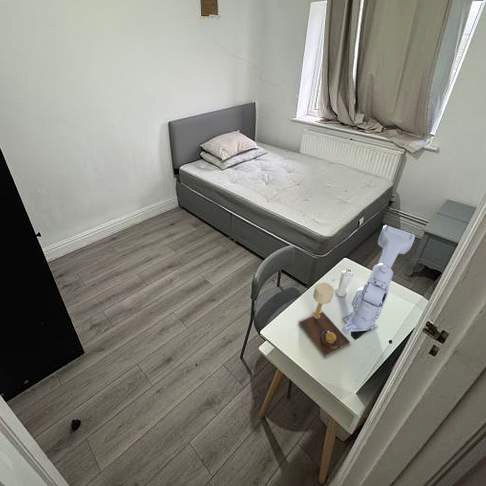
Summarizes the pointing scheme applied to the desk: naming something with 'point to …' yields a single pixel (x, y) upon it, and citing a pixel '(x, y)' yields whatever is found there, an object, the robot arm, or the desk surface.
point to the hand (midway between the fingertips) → (354, 336)
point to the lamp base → (323, 334)
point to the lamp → (322, 296)
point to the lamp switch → (330, 337)
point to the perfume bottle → (344, 282)
